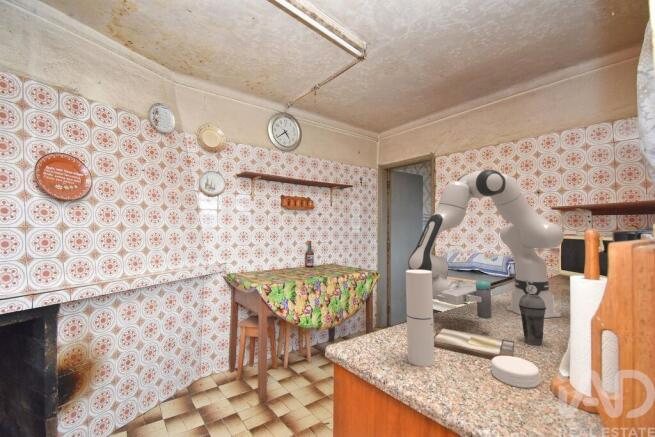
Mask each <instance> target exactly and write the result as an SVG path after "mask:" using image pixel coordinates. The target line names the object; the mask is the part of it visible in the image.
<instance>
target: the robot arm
mask: <svg viewBox="0 0 655 437" xmlns="http://www.w3.org/2000/svg"><path fill="white" fill-rule="evenodd" d="M485 197H490V199H491V201H492V202H493V205H494V206H495V208H496V209H497V211H498V213H499V214H500V216H501V218H502V219H503V221H504V220H505V222H508V223H510V224H506V225H504V226H503V227H502V228H501V229H500V233H499V234H500V235H499V236H500V240H501V242H503V244H505V245H506V246H507V248H508V249H509V250H510V251H509V252H511V255H512V257H513V261H514V268H515V278H514V287H515V288H514V289H513V290H512V291H511V293H510V297H511V298H510V302H511V303H510V305H508V306H506V310H507V311H509V312H514V313H515V314H518V315H521V312H520V308H519V301H520V299H521V297H522V296H523V295H525V294H528V289H527V283H526V280H528V284H529V290H530V293H531V294H536V295H538V296H539V297H541V298H542V299H543V301H544V303H545V307H546V309H545V315H544V319H545V318H546V319H548V318H549V319H550V318H560V317H562V316H561V313H560V312H559V311H558V310H556V309H555V297H554V295H553V293H552V292H550V291H549V290H550V282H549V280H548V272H547V271H548V267H547V266H548V265H547V263H546V261H545V260H544V259H543V258H541V257H540V256H539V255H538V253H537V252H536V249H541V250H542V249H543V250H546V249H552V248H557V247H559V246H560V245H561V244H562V243H563V241H564V239H565V238H564V237H565V235H564V233H565V232H564V231H563V228H562V227H561V226H560V225H558V224H557V223H555V222H551V221H549V220H547V219H546V218H544V217H543V216H541V215H540V214H539V213H538V212H537V211H536V210H535V209H533V207H532V206H531V204H530V203H529V201H528V200H527V199H526V197H525V194H523V192H522V190H521V189H520V187H519V186H518V184H517V183H516V182H515V181H514V180H513V178H512V177H511V176H510V175H509V174H506V173H500V172H499V171H497V170H495V169H485V170H477V171H476V170H475V171H473V172H469V173H465V174H463V175H461V176H460V177H458V179H456V180H453V181H450V182H448V183H447V184H446V185H445V187H444V190H442V193H441V195H440V198H439V201H438V204H437V208H436V210H435V212H434V213H433V214H432V215H431V216H430V217H429V218H428V220H427V222H426V223H425V225H424V228H423V230H422V233H421V235H420V237H419V239H418V242H417V244H416V247H415V248H414V250H413V251H412V252H411V254H410V255H409V257H408V261H407V264H408V265H407V266H408V270H428V271H432V292H433V300H436V301H439V302H442V303H445V304H450V305H454V306H460V305H463V304H465V303H469V302H471V303H472V302H474V303H477V302H482V301H483V297H482V296H477V295H476V283H472V282H471V283H470V282H466V281H465V280H452V279H447V278H448V275H449V270H450V269H449V263H448V261H447V260H446V259H445V258H444V257H442V256H439V255H435V254H432V252H433V249H434V246H435V245H436V242H437V240H438V238H439V235H441V233H442V232H444V231H446V230H451V229H455V228H457V227H459V226H460V225H461V224H462V222H463V220H464V219H465V216H466V213H467V209H468V205H469V203H470V200H471V199H479V198H485Z"/></svg>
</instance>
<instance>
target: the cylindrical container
mask: <svg viewBox="0 0 655 437" xmlns="http://www.w3.org/2000/svg"><path fill="white" fill-rule="evenodd" d="M405 294H406V296H405V299H406V333H407V334H406V336H407V337H406V338H407V339H406V340H407V341H406V342H407V343H406V344H407V345H406V346H407V361H408V362H409V363H410V364H412V365H413V366H418V367H424V368H425V367H431V366H434V364H435V347H434V335H435V333H434V331H435V330H434V299H433V292H432V271H428V270H409V269H407V270H405Z"/></svg>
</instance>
